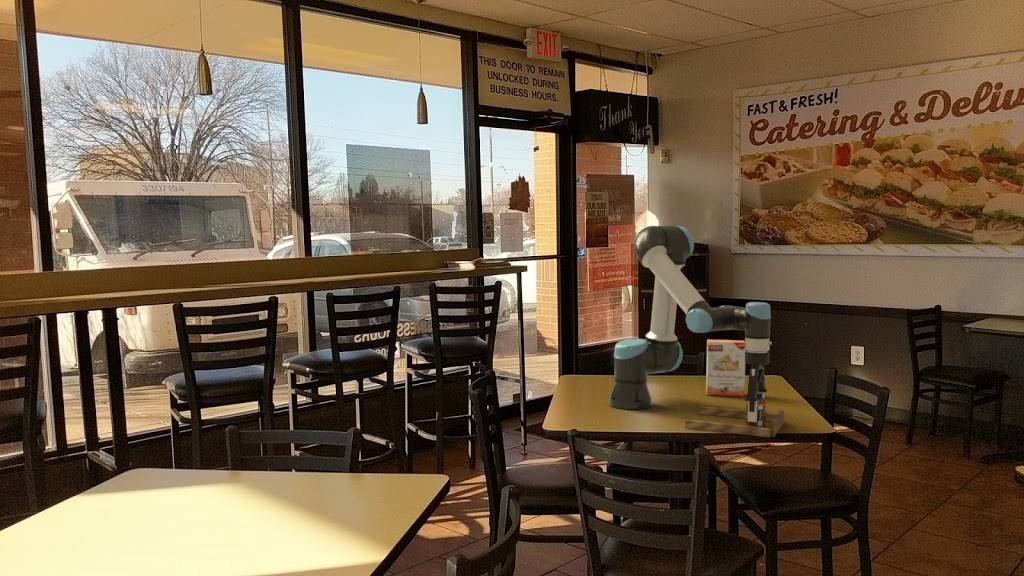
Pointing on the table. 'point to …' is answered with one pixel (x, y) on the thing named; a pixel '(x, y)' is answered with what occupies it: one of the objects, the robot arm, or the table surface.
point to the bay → (737, 429)
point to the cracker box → (725, 367)
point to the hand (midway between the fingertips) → (755, 417)
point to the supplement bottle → (760, 412)
